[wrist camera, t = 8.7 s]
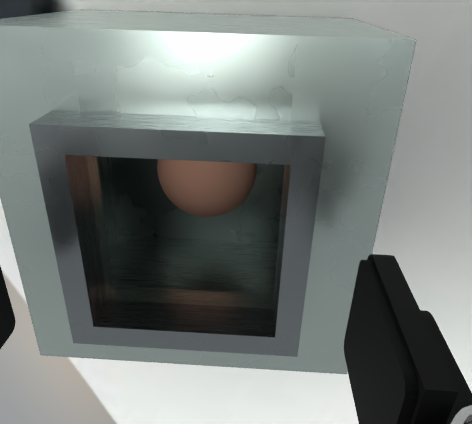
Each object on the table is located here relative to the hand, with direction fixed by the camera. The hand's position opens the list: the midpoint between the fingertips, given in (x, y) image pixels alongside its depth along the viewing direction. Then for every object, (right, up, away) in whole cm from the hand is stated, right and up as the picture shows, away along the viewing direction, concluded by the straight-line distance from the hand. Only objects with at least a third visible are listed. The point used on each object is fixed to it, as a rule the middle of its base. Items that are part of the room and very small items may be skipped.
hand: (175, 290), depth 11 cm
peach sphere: (0, +5, +10) cm, 11 cm away
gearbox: (0, +5, +11) cm, 12 cm away
